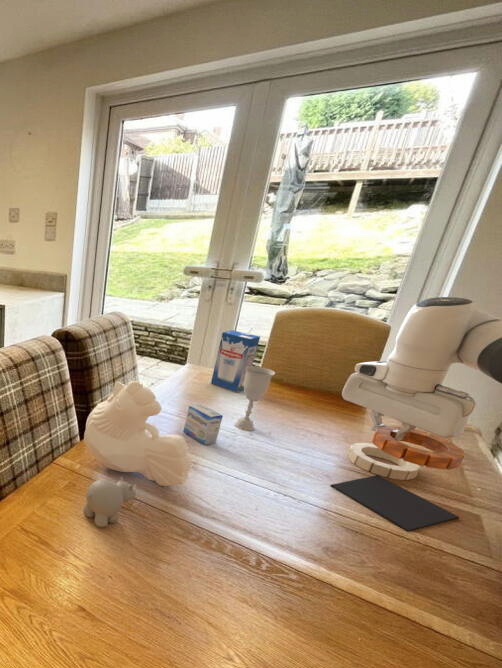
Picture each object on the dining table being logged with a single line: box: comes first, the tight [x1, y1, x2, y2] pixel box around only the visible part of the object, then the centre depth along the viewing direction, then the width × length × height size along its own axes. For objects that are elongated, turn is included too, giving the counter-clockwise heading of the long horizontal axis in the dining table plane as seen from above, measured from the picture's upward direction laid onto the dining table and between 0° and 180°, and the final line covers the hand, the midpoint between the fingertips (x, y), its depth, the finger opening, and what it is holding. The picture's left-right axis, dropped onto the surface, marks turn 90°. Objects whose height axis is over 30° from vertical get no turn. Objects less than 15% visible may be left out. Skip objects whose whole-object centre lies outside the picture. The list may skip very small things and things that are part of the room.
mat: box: [330, 474, 460, 533], centre depth 86 cm, size 15×15×1 cm
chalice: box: [234, 365, 276, 432], centre depth 115 cm, size 7×7×18 cm
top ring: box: [371, 425, 465, 471], centre depth 82 cm, size 13×13×2 cm
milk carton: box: [210, 329, 261, 393], centre depth 143 cm, size 10×6×20 cm, turn 30°
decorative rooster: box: [83, 380, 192, 487], centre depth 90 cm, size 25×16×25 cm
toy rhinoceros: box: [82, 476, 137, 528], centre depth 81 cm, size 7×12×8 cm, turn 114°
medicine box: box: [182, 403, 224, 446], centre depth 110 cm, size 8×4×9 cm, turn 21°
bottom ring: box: [346, 442, 421, 481], centre depth 99 cm, size 13×13×2 cm
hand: (385, 434), depth 86 cm, fingers closed on top ring, 2 cm apart
